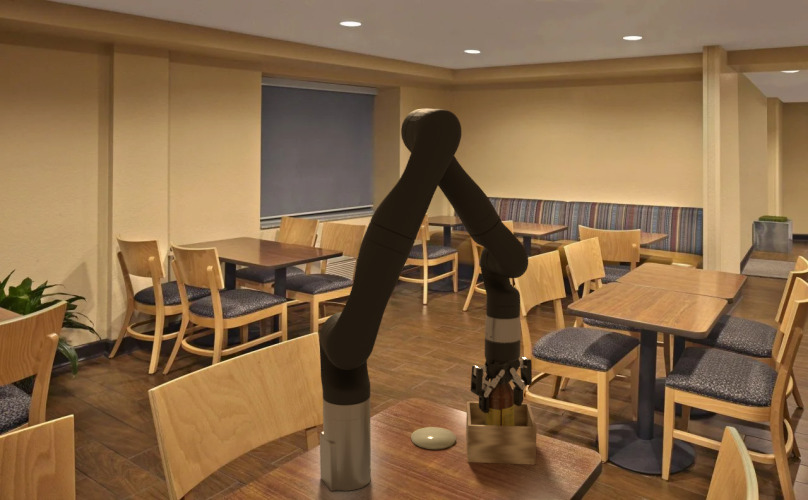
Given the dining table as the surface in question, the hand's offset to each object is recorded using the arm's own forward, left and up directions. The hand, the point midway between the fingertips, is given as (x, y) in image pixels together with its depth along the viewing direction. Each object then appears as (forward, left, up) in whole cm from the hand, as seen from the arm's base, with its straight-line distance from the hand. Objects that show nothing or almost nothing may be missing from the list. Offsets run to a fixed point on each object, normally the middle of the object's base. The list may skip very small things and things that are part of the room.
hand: (501, 408), depth 140 cm
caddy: (0, 0, -9) cm, 9 cm away
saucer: (-11, +11, -9) cm, 18 cm away
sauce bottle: (0, 0, -10) cm, 10 cm away
